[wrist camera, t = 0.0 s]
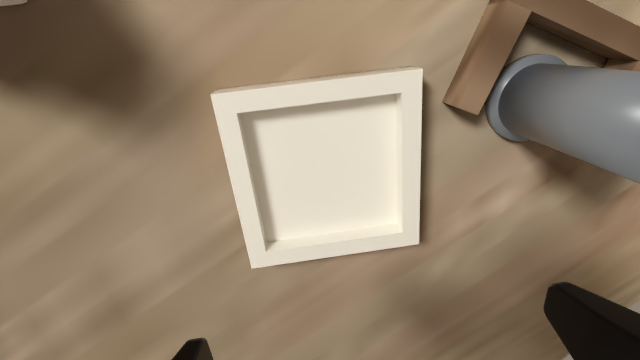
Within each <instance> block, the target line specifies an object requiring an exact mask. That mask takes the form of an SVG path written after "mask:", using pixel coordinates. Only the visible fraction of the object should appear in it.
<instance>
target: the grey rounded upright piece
mask: <svg viewBox="0 0 640 360" xmlns="http://www.w3.org/2000/svg"><path fill="white" fill-rule="evenodd" d="M486 116H487V120H488V122H489V124H490V126H491V128H492V129H493V130H494V131H495V132H496V133H497V134H499V135H500V136H502V137H505V138H507V139H510V140H513V141H529V140H533V141H535V142H538V143H540V144H543V145H545V146H547V147H550V148H552V149H555V150H557V151H560V152H562V153H565V154H567V155H570V156H572V157H575V158H577V159H580V160H582V161H585V162H587V163H590V164H592V165H595V166H597V167H600V168H602V169H605V170H607V171H609V172H612V173H614V174H617V175H619V176H622V177H624V178H627V179H629V180H632V181H634V182H637V183H639V184H640V71H629V70H618V69H606V68H594V67H582V66H571V65H567V64H566V63H565V62H564V61H562V60H561V59H559V58H557V57H555V56H551V55H543V54H533V55H527V56H524V57H521V58H519V59H517V60H515V61H514V62H512V63H510V64H509V65H508V66H507V67H505V68H504V69H503V70H502V71H501V72H500V74H499V75H498V77H497V79H496V81H495V83H494V85H493V87H492V89H491V91H490V93H489V95H488V97H487V100H486Z"/></svg>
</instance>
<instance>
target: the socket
mask: <svg viewBox="0 0 640 360" xmlns="http://www.w3.org/2000/svg"><path fill="white" fill-rule="evenodd" d="M526 22H528V23H530V24H532V25H534V26H537V27H539V28H541V29H543V30H545V31H548V32H550V33H552V34H554V35H556V36H559V37H561V38H563V39H565V40H568V41H570V42H572V43H574V44H576V45H579V46H581V47H583V48H585V49H587V50H590V51H592V52H594V53H596V54H598V55H601V56H603V57H605V58H607V59H608V61H607V63H606V64H605V66H604V67H603V68H606V69H618V70H629V71H640V27H639V26H637V25H635V24H633V23H631V22H629V21H627V20H625V19H623V18H621V17H619V16H617V15H615V14H613V13H611V12H609V11H607V10H605V9H603V8H601V7H599V6H597V5H595V4H593V3H590V2H588V1H586V0H490V2H489V4H488V6H487V8H486V10H485V12H484V14H483V16H482V19H481V21H480V23H479V25H478V27H477V29H476V31H475V33H474V36H473V38H472V40H471V42H470V44H469V46H468V48H467V51H466V53H465V55H464V57H463V59H462V61H461V63H460V65H459V68H458V70H457V72H456V74H455V76H454V78H453V80H452V82H451V85H450V87H449V89H448V91H447V93H446V95H445V97H444V99H443V102H444V103H446V104H449V105H452V106H454V107H457V108H459V109H462V110H465V111H468V112H470V113H473V114H476V115H478V114H479V112H480V110H481V108H482V106H483V104H484V102H485V100H486V99H487V97H488V95H489V93H490V91H491V89H492V87H493V85H494V83H495V81H496V79H497V77H498V75H499V73H500V71H501V70H502V68H503V66H504V64H505V62H506V60H507V58H508V56H509V54H510V52H511V50H512V48H513V46H514V44H515V42H516V40H517V39H518V37H519V35H520V33H521V31H522V29H523V27H524V25H525V23H526Z"/></svg>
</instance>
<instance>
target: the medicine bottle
mask: <svg viewBox="0 0 640 360" xmlns="http://www.w3.org/2000/svg"><path fill="white" fill-rule="evenodd" d="M27 1H28V0H0V6H7V5H16V4H23V3H26V2H27Z"/></svg>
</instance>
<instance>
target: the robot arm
mask: <svg viewBox="0 0 640 360" xmlns="http://www.w3.org/2000/svg"><path fill="white" fill-rule="evenodd" d="M544 312H545V315H546V317H547V319H548V320H549V322H550V323H551V325H552V326H553V328H554V330H555V331H556V333H557V334H558V336H559V337H560V339H561V340H562V342H563V344H564V345H565V347H566V348H567V350H568V351H569V353H570V355H571V356H572V358H573V359H574V360H640V314H639V313H637V312H634V311H632V310H630V309H628V308H625V307H623V306H621V305H619V304H616V303H614V302H612V301H610V300H607V299H605V298H603V297H600V296H598V295H596V294H594V293H591V292H589V291H587V290H585V289H582V288H580V287H578V286H576V285H573V284H571V283H568V282H560V283H553V284H550V285H549V287H548V290H547V294H546V298H545V303H544ZM172 360H213V357H212V354H211V351H210V348H209V345H208V343H207V340H206V339H205V338H197V339H190V340H188V341H187V342H186V343H185V344H184V345H183V347H182V348H181V349H180V350H179V351H178V353H177V354H176V355H175V356H174V357H173V359H172Z"/></svg>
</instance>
